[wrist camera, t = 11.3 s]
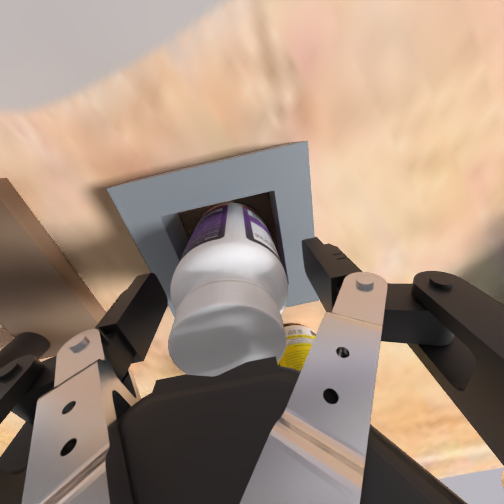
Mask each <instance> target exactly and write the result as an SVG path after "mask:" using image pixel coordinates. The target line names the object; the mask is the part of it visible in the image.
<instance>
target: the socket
mask: <svg viewBox="0 0 504 504" xmlns="http://www.w3.org/2000/svg"><path fill="white" fill-rule="evenodd" d="M107 191H108V193H109V195H110V196H111V198H112V200H113V202H114V204H115V206H116V208H117V210H118V211H119V213H120V215H121V217H122V219H123V221H124V223H125V225H126V227H127V228H128V230H129V232H130V234H131V236H132V238H133V240H134V242H135V243H136V245H137V247H138V249H139V251H140V253H141V255H142V257H143V259H144V260H145V262H146V264H147V266H148V268H149V270H150V272H151V273H154V274H155V275H156V276H157V278H158V280H159V282H160V284H161V286H162V287H163V289H164V291H165V293H166V295H167V299H168V306H169V307H170V309H171V311H172V313H173V315H174V317H175V315H176V311H175V309H174V307H173V304H172V301H171V294H170V287H171V281H172V277H173V274H174V272H175V270H176V267H177V264H178V263H179V261H180V258H181V256H182V254H183V252H184V250H185V248H186V246H187V244H188V242H189V240H188V237H187V235H186V232H185V229H184V227H183V224H182V222H181V219H180V217H179V214H178V212H183V211H187V210H191V209H196V208H200V207H204V206H209V205H213V204H217V203H222V202H226V201H230V200H235V199H239V198H243V197H248V196H252V195H256V194H261V193H265V192H269V197H270V203H271V209H272V215H273V221H274V227H275V233H276V239H277V245H278V250H279V256H280V260H281V263H282V265H283V267H284V270H285V274H286V276H287V281H288V299H287V303H286V305H285V307H290V306H295V305H300V304H304V303H309V302H314V301H319V297H318V296H317V294H316V292H315V290H314V288H313V286H312V285H311V283H310V281H309V279H308V277H307V275H306V273H305V269H304V262H303V253H302V240H304V239H309V238H313V237H315V236H314V223H313V209H312V195H311V181H310V167H309V154H308V141H301V142H292V143H288V144H283V145H279V146H275V147H271V148H266V149H262V150H258V151H254V152H250V153H245V154H241V155H237V156H233V157H229V158H224V159H220V160H216V161H212V162H207V163H203V164H199V165H195V166H191V167H186V168H182V169H178V170H174V171H170V172H165V173H161V174H157V175H153V176H148V177H144V178H140V179H136V180H132V181H129V182H126V183H122V184H119V185H116V186H113V187H110V188H107Z"/></svg>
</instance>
